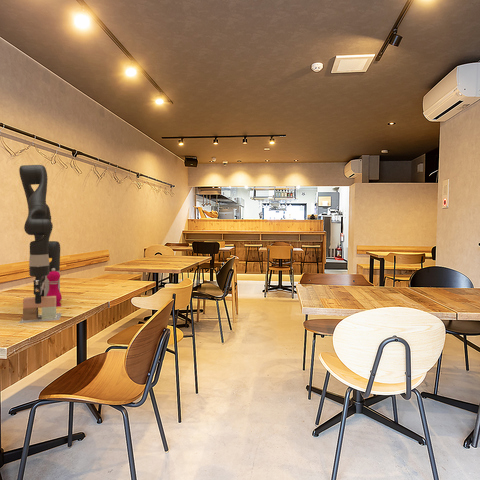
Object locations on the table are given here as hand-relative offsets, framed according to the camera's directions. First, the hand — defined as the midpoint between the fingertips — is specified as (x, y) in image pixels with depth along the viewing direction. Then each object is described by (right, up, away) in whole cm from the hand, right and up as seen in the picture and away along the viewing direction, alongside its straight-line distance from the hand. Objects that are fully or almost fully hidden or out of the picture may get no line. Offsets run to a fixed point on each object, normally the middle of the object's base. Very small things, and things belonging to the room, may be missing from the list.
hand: (39, 301), depth 148 cm
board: (0, -9, +1) cm, 9 cm away
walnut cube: (-3, -7, -1) cm, 8 cm away
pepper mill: (-8, -8, +25) cm, 28 cm away
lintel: (0, -2, 0) cm, 2 cm away
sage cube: (+3, -7, +2) cm, 8 cm away
